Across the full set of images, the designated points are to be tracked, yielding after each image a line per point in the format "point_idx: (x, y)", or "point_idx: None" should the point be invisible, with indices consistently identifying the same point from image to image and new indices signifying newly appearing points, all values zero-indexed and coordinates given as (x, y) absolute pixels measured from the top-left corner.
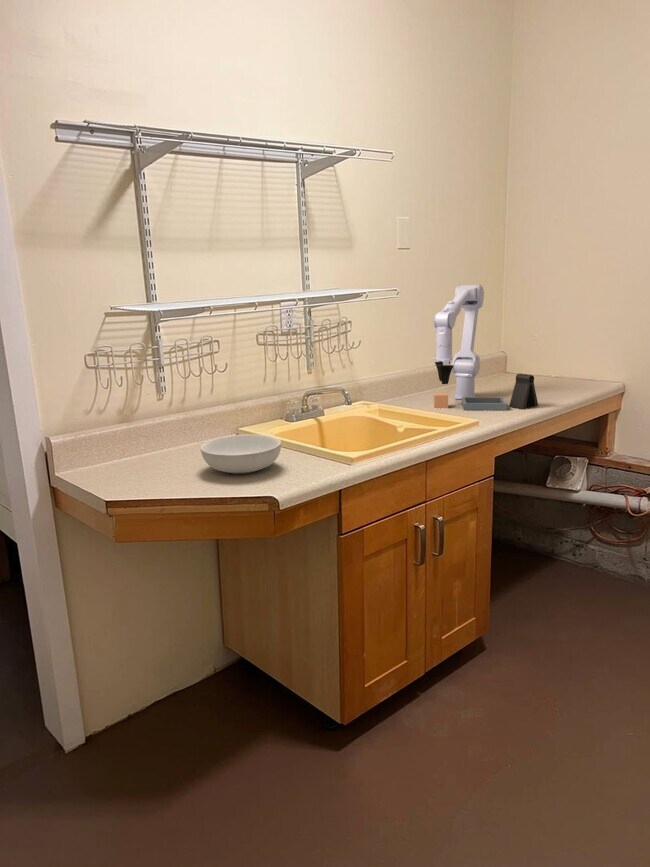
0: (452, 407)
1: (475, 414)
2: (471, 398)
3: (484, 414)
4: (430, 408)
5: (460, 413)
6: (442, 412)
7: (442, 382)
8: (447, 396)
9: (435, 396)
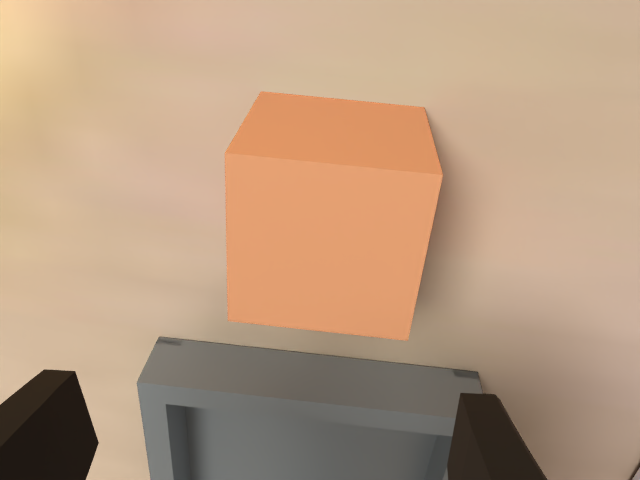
0: None
1: (14, 379)
2: (442, 472)
3: None
4: (263, 43)
5: (29, 293)
6: (42, 150)
7: (21, 399)
8: (230, 304)
9: (228, 161)
